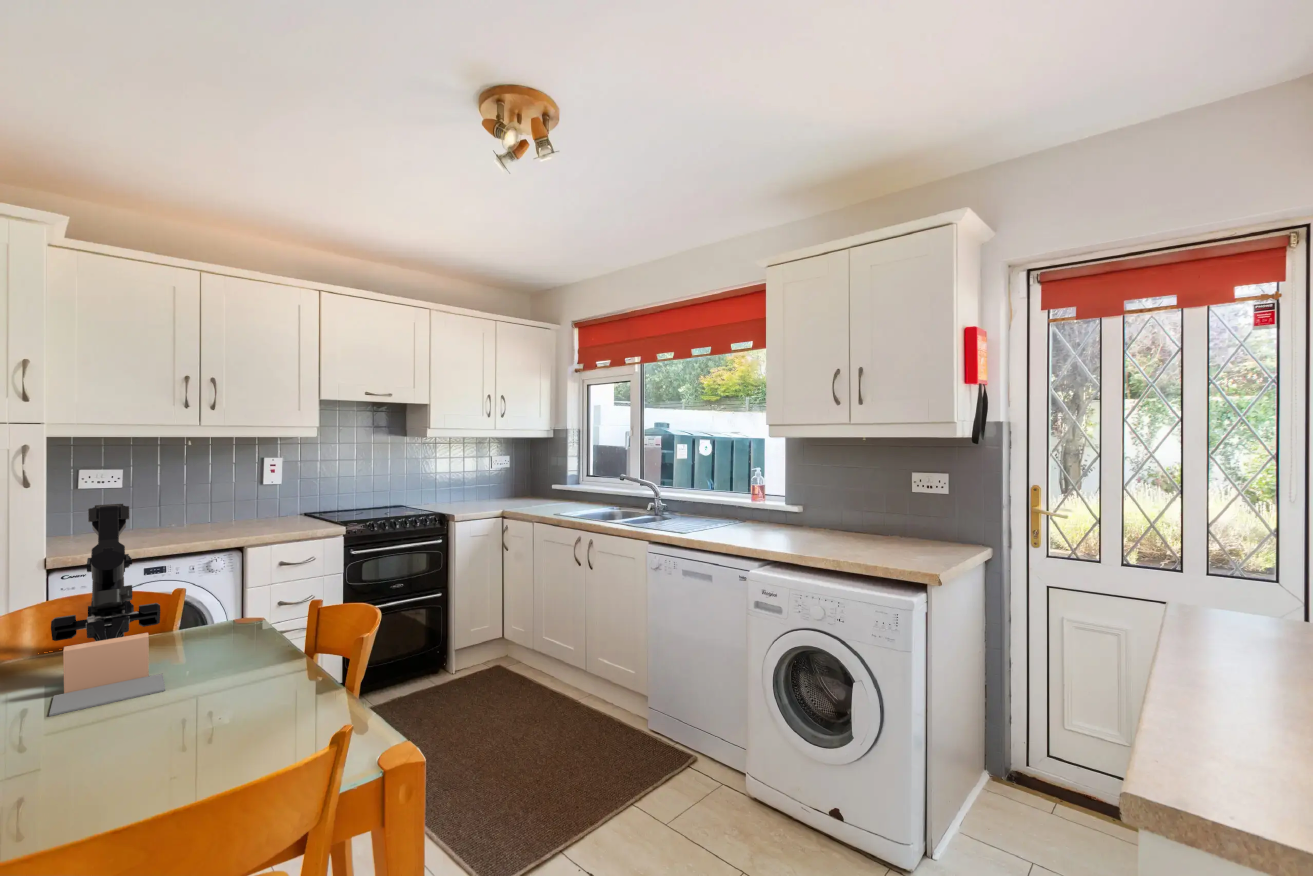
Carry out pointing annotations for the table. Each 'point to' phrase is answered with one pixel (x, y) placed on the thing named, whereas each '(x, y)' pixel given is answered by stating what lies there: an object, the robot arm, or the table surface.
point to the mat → (106, 694)
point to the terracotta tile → (105, 662)
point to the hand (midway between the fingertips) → (108, 653)
